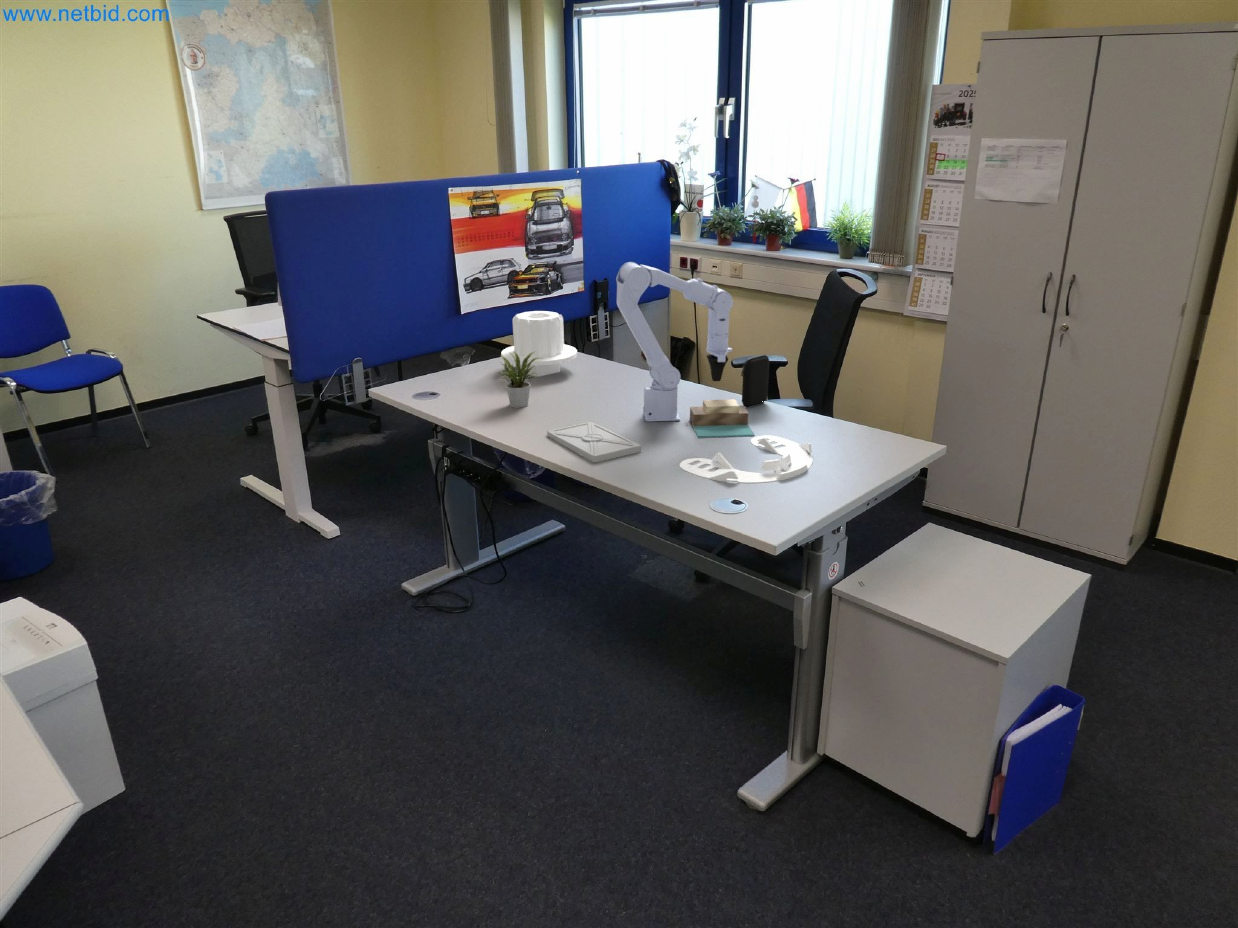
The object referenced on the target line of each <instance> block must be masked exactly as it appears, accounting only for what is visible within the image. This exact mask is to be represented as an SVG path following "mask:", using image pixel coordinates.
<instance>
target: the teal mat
mask: <svg viewBox="0 0 1238 928" xmlns="http://www.w3.org/2000/svg"><path fill="white" fill-rule="evenodd" d="M693 430H694V431H695V435H696V436H697V438H726V437H730V438H731V437H735V438H736V437H755V433H754V430H752V428H751V426H750V424H748V425H717V426H694V427H693Z"/></svg>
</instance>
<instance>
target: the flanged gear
mask: <svg viewBox="0 0 1238 928" xmlns="http://www.w3.org/2000/svg"><path fill="white" fill-rule="evenodd" d="M512 334H513V335H512V336H513V345H511V346H508V347H505V349H504V348H503V350H502V351H501V356H503V357H504V358H506V359H507V360H508V361H509V363H510V364H513V365H514V364H515V365H516V363H515V360H514V358H513V356H514V357H515V354H514V352H516V353H517V355H518V356H519V359H520V368H522V363H523V360H524V359H525V358H526V357H527V356H528V355H529V354H530V353H532V352H535V353H533V354H532V355H531V356H530V357H529V359H528V360H529V361H528V360H527V361H528V362H527V364H528V363H530V361H531V360H532V359H534V358H540V359H536V360H534V361H533V362H532V363H531V364H530V366H529V368H531V367H533V366H535V367H533V368H532V369H531V370H530V371H529V373H528V374H527V375H529V374H531V373H536V374H537V375H531V377H534V378H539V377H542V376H543V377H544V376H548V375H552V374H557V373H560V372H561V363H565V362H569V361H572V360H574V359H575V358H577V356H578V349H576V347H574V346H571V345H568V344H565V338H564V337H565V336H564V335H565V334H564V317H563V315H562V314H559V313H558V312H554V311H548V310H547V311H546V310H533V311H524V312H521V313H516V314H515V315H514V316H513V318H512ZM508 351H509V352H510V353H511V354H512V355H513V356H512V355H511V354H510V353H509V352H508ZM501 356H500V357H501ZM501 359H502V360H503V361H504V359H503V358H502V357H501ZM515 359H516V357H515ZM529 368H528V369H529ZM526 369H527V367H526ZM526 369H525V370H526ZM527 371H528V370H527Z"/></svg>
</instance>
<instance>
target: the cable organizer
mask: <svg viewBox="0 0 1238 928" xmlns="http://www.w3.org/2000/svg"><path fill="white" fill-rule="evenodd" d="M750 443H751V445H753V446H754V447H760V448H763V449H764V450H765V451H768V452H771V453H774V454H776V455H780V456H782V457H781V458H780V459H779V458H776V459H770V460H764V461H762V465H761V467H760V471H761V472H767V471H769V472H770V471H774V472H772V473H771V472H770V473H761V472H753V471H752V472H751V471H744V470H741V469H736V468H734V467H733V466H732V464H731V463H730V462H729V461H728V460H727V459H726V457H725V456H724V455H723V454H722V453H721V452H717V453H716V454H715V455H714V456H713V457H712V458H711V459H709V458H703V457H696V458H693V457H692V458H687V459H684V460H682V461H681V462H680V463H679V467H680V469H681V470H682V471H685V472H686V473H689V474H691V475H695V476H698V477H701V478H704V479H708V480H713V481H719V482H725V483H726V482H737V483H738V484H762V483H763V484H764V483H772V482H773V483H774V482H780V481H783V480H784V481H785V480H787V479H791V478H794V477H798V476H799V475H802V474H803V473H805V472H806V471H808V470H809V469H810V468H811V467H812V465H813V461H814V460H813V456H812V454H809V453H812V452H813V451H812V443H811V442H807V443H804V444H800V443H798V442H796V441H793V440H790V439H787V438H784V437H782V436H776V435H768V434H766V435H764V434H763V435H758V436H753V437H752V438H751V439H750ZM780 446H782V447H780ZM777 447H778V448H777ZM714 461H717V462H714ZM694 462H698V463H696V464H694V465H693V464H692V463H694ZM705 465H708V466H705ZM703 466H705V467H703ZM701 467H703V468H701ZM715 468H717V469H716V470H713V471H710V470H712V469H715Z"/></svg>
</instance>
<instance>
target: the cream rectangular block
mask: <svg viewBox="0 0 1238 928" xmlns="http://www.w3.org/2000/svg"><path fill="white" fill-rule="evenodd" d="M702 406H703V408H704V410H705V412H706V414H718V413H739V406H740V405H739V403H738V401H737V400H736V399H733V398H732V399H729V398H728V399H702Z"/></svg>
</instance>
